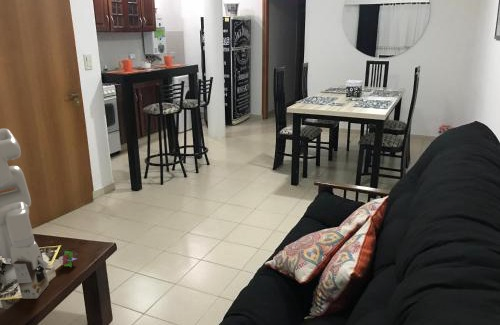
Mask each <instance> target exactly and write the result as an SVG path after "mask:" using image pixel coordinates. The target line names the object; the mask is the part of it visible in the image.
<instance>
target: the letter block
mask: <svg viewBox="0 0 500 325" xmlns="http://www.w3.org/2000/svg"><path fill="white" fill-rule="evenodd" d="M45 270H46V274H47V278H48V283H49V284H50V282H51V281H52V280H53V279H54V278H55V277H56V276H57V275H56V271H55V270H56V269H55V265H51V264H50V265H49V264H48V265H47V267H46V268H45Z"/></svg>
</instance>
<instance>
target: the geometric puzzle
mask: <svg viewBox="0 0 500 325" xmlns="http://www.w3.org/2000/svg"><path fill="white" fill-rule="evenodd" d="M74 255H75V253H74V252H73V251H71V250H70V251H68V250H64V252H63V255H62V256H61V255H60V256H59V257H58V263H59V264H60V265H62V266H63V265H64V266H63V267H68V266H69V267H68V268H73V263H74V261H76V260H77V257H76V258H74Z"/></svg>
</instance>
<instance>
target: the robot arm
mask: <svg viewBox="0 0 500 325" xmlns="http://www.w3.org/2000/svg"><path fill="white" fill-rule="evenodd" d="M21 150H22V149H21V146H20V144H19V141H18V140H17V138H16V137H15V135H14V134H13V133H12V132H11V131H10V129H8V128H4V127H3V128H0V192H1V191H5V190H9V189H12V188H14V190H9V191H5V192H1V193H0V256H2V258H10V259H11V261H10V263H11V264H10V265H12V266H14V265H13V263H14V262H15V261H25V262H31V266H32V270H35V271H36V272H37V274H36V276H37V280H38V283H40V282H41V281H42V280H43V279H44V278H45V277H44V273H43V270H44V269H45V268H46V267H47V265H49V263H48V262H46V260H44V258H43V259H42V257H43V255H42V256H41V253H40V251H41V250H40V247H39V245H38V243H37V241H35V236H34V233H33V232H34V231H33V228H32V224H31V220H30V216H29V215H30V208H29V207H31V206H32V200H31V199H32V198H31V195H30V191H29V188H28V184H27V181H26V180H27V179H26V177H25V174H24V172H23V170H22V168H21V167H20V166H18V165H9V164H8V161H11V160H17V159H19V158H20V157H21V156H22V151H21ZM37 267H39V268H40V269H38V268H37Z"/></svg>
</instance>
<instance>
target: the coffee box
mask: <svg viewBox="0 0 500 325" xmlns="http://www.w3.org/2000/svg"><path fill="white" fill-rule="evenodd" d="M40 253H41V256H42V259H43V260H44V257H43V254H42V251H41V250H40ZM12 266H13V269H14V272H15V275H16V280H17V283H18V288H19V291H20V295H21V298H22V299H24V300H25V299H28V300H29V299H38V298H39V297H40V296H41V295H42V293H43V292H44V291H45V289H46V288H47V287H48V286H49V285H50V282H49V283H48V278H47V274H46V270H45V269H44V270H43V273H44V277H45V278H44V279H43V280H42V281H41V282H40V283H38V280H37V276H36V274H37V272H36V271H35V270H32V266H31V262H25V261H15V262H14V263H13V265H12ZM37 268H38V269H40V268H39V267H37Z"/></svg>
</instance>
